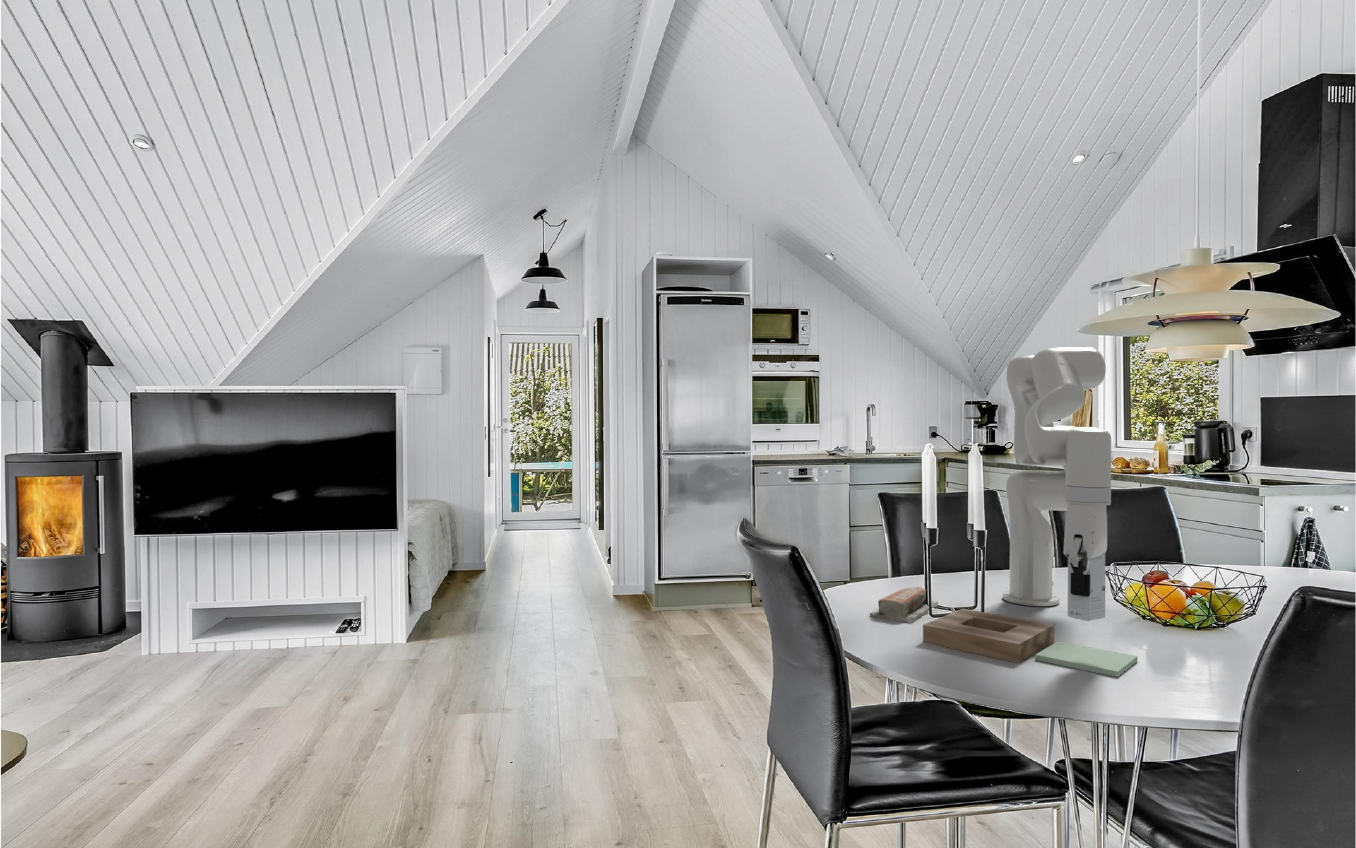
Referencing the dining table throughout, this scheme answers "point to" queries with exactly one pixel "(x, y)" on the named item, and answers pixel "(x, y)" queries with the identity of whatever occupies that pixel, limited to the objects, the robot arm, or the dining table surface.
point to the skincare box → (1095, 602)
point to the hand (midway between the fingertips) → (1087, 591)
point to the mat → (1087, 658)
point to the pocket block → (989, 634)
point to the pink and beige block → (903, 605)
